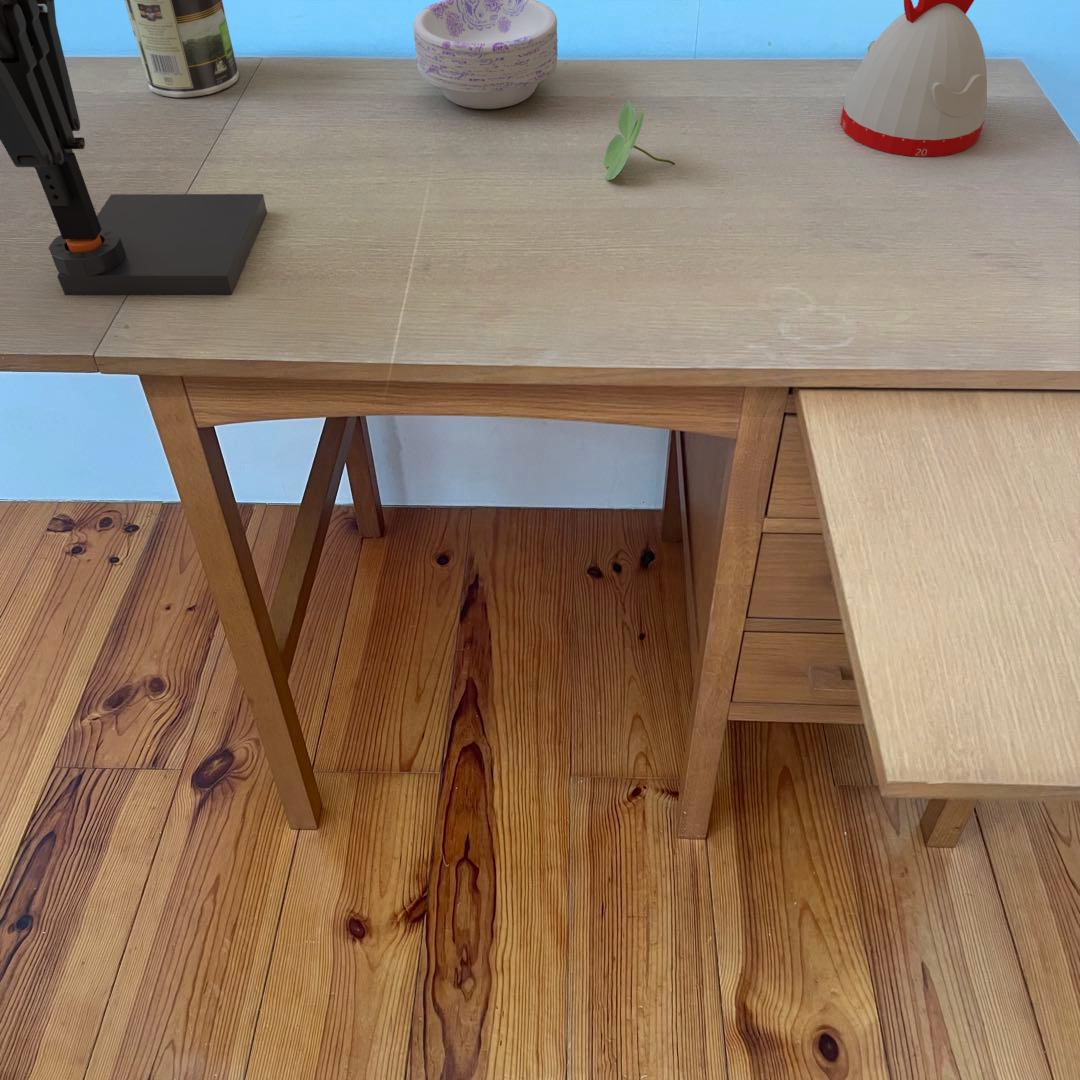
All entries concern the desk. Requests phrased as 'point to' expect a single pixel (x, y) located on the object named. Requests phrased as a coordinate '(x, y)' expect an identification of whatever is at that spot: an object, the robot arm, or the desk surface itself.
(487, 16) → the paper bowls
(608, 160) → the seedling
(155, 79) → the coffee can
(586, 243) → the desk surface
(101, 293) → the scale
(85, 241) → the button
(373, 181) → the desk surface
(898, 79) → the kitchen timer
